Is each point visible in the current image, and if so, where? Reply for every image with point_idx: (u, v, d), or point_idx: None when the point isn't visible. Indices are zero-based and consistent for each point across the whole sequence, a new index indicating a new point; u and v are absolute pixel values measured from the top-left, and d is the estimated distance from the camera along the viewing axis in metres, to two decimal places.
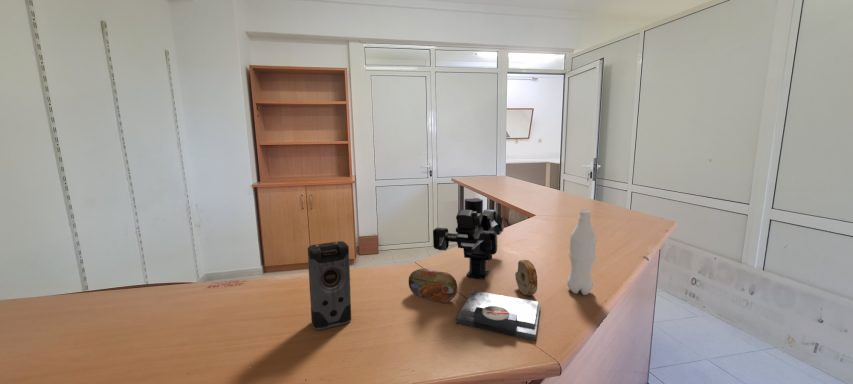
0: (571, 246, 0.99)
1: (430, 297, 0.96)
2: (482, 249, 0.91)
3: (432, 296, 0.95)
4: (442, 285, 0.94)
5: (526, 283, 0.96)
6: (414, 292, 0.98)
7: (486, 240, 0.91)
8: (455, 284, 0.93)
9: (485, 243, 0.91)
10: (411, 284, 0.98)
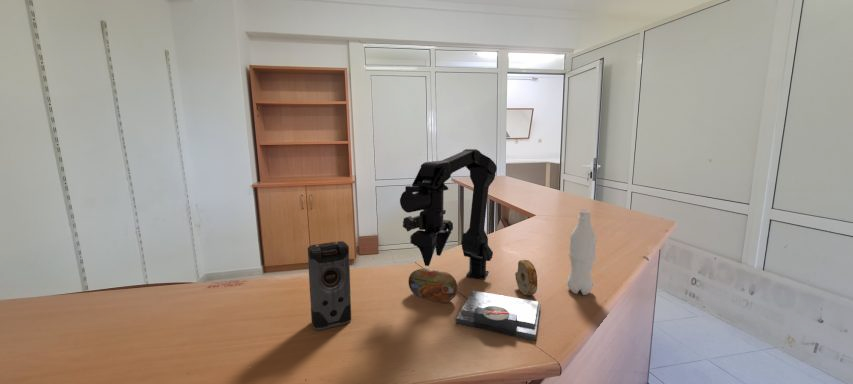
0: (571, 246, 0.99)
1: (430, 297, 0.96)
2: (428, 249, 0.88)
3: (432, 296, 0.95)
4: (442, 285, 0.94)
5: (526, 283, 0.96)
6: (414, 292, 0.98)
7: (419, 245, 0.88)
8: (455, 284, 0.93)
9: None
10: (411, 284, 0.98)
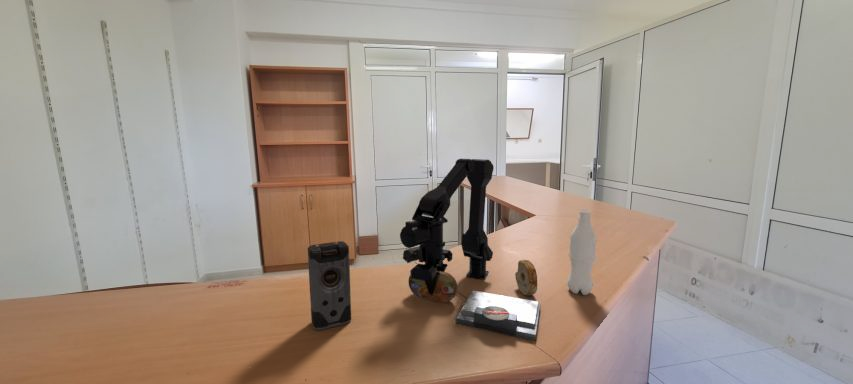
0: (571, 246, 0.99)
1: (430, 297, 0.96)
2: (432, 278, 0.92)
3: (432, 296, 0.95)
4: (442, 285, 0.94)
5: (526, 283, 0.96)
6: (414, 292, 0.98)
7: None
8: (455, 284, 0.93)
9: None
10: (411, 284, 0.98)
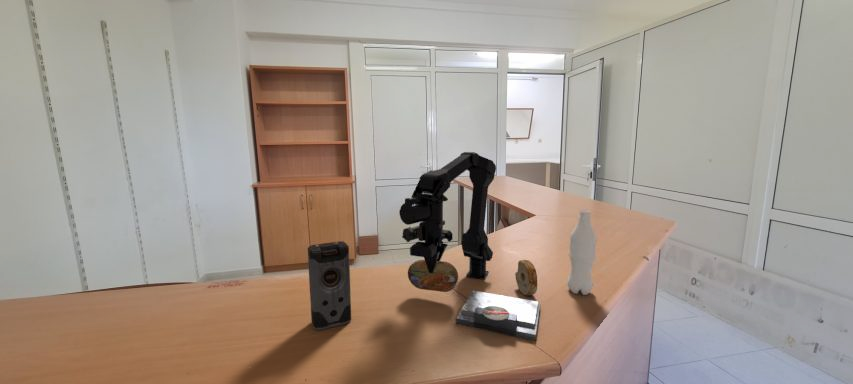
0: (571, 246, 0.99)
1: (431, 288, 0.95)
2: (432, 257, 0.92)
3: (434, 286, 0.95)
4: (443, 275, 0.93)
5: (526, 283, 0.96)
6: (414, 284, 0.97)
7: None
8: (456, 272, 0.93)
9: None
10: (410, 277, 0.98)
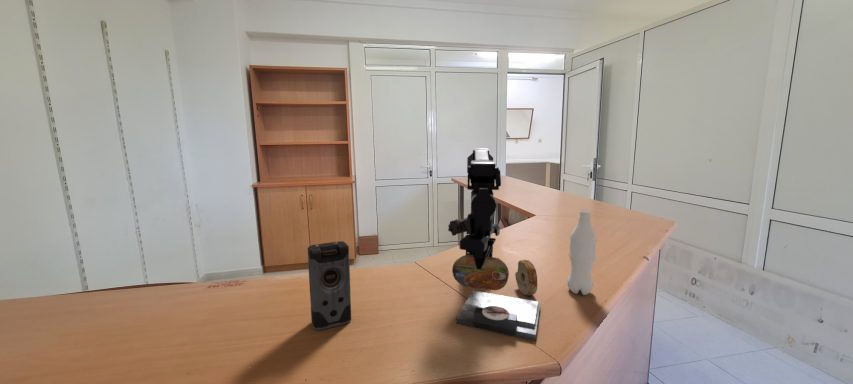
0: (571, 246, 0.99)
1: (478, 286, 0.88)
2: (482, 252, 0.84)
3: (481, 284, 0.88)
4: (492, 272, 0.86)
5: (526, 283, 0.96)
6: (460, 281, 0.90)
7: None
8: (507, 269, 0.85)
9: None
10: (455, 273, 0.90)
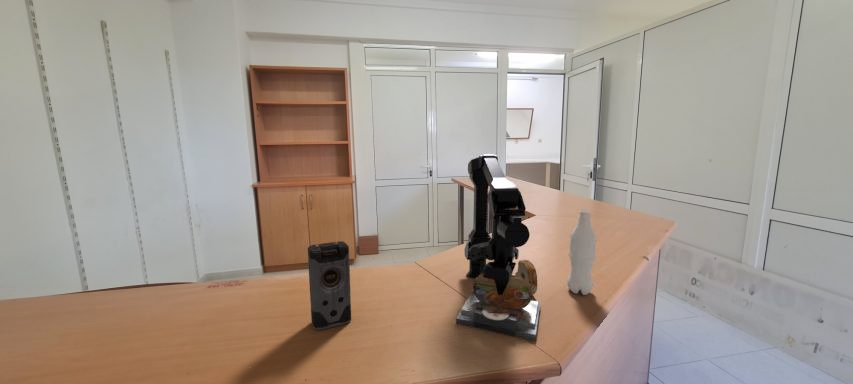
0: (571, 246, 0.99)
1: (499, 304, 0.86)
2: None
3: (503, 302, 0.86)
4: (515, 290, 0.84)
5: None
6: (480, 299, 0.88)
7: None
8: (530, 288, 0.83)
9: None
10: (475, 290, 0.88)
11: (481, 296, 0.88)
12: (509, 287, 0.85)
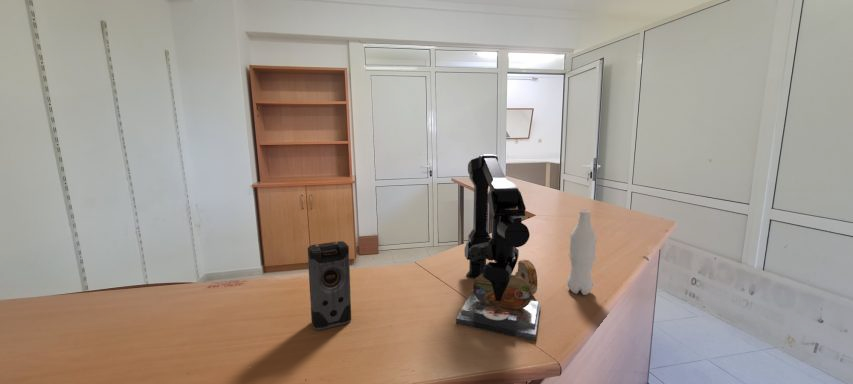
0: (571, 246, 0.99)
1: (500, 304, 0.86)
2: (502, 283, 0.80)
3: (503, 302, 0.86)
4: (515, 290, 0.85)
5: None
6: (480, 299, 0.88)
7: None
8: (530, 288, 0.84)
9: None
10: (475, 290, 0.89)
11: (481, 296, 0.88)
12: (509, 286, 0.85)
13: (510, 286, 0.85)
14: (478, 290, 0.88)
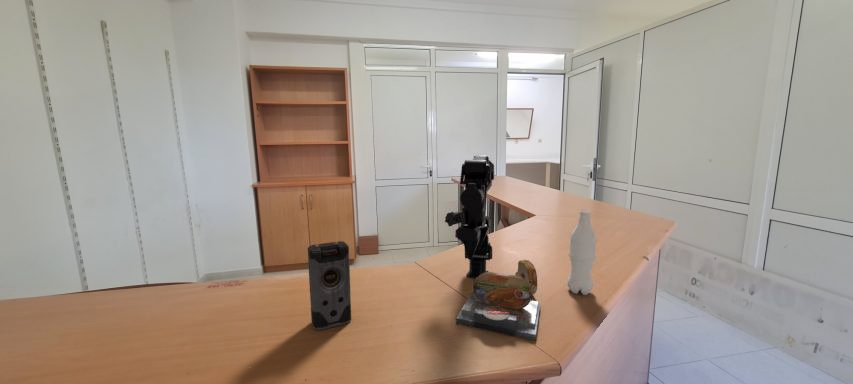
0: (571, 246, 0.99)
1: (500, 304, 0.86)
2: (472, 243, 0.92)
3: (503, 302, 0.86)
4: (515, 290, 0.85)
5: None
6: (480, 299, 0.88)
7: (463, 239, 0.92)
8: (530, 288, 0.84)
9: None
10: (475, 290, 0.89)
11: (481, 296, 0.88)
12: (509, 286, 0.85)
13: (510, 286, 0.85)
14: (478, 290, 0.88)
